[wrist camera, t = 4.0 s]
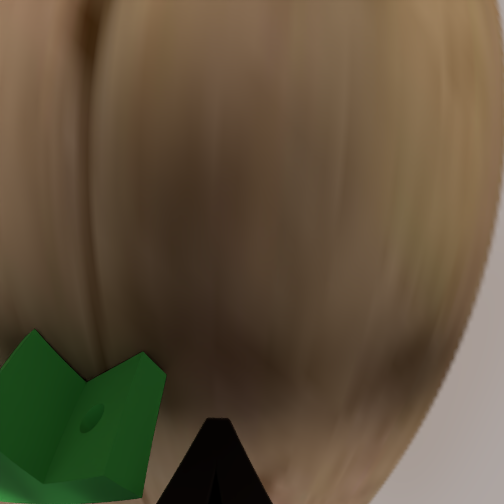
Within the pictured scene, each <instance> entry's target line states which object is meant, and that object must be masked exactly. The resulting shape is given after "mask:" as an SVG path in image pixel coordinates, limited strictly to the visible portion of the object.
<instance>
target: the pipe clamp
mask: <svg viewBox="0 0 504 504" xmlns="http://www.w3.org/2000/svg"><path fill="white" fill-rule="evenodd" d="M166 376H167V375H166V374H165V373H164V372H163V371H162V370H161V369H160V368H159V367H158V366H157V365H156V364H155V363H154V362H153V361H152V360H151V359H150V358H149V357H148V356H147V355H146V354H145V353H144V352H141V353H139V354H137V355H136V356H134V357H132V358H130V359H128V360H127V361H125V362H123V363H121V364H119V365H118V366H116V367H114V368H112V369H110V370H108V371H107V372H105V373H103V374H101V375H99V376H97V377H96V378H94V379H92V380H90V381H88V382H85V381H84V380H83V379H82V378H81V377H80V376H79V375H78V374H77V373H76V372H75V371H74V370H73V369H72V368H71V367H70V366H69V365H68V364H67V363H66V362H65V361H64V360H63V359H62V358H61V357H60V356H59V355H58V354H57V353H56V352H55V351H54V350H53V349H52V348H51V346H50V345H49V344H48V343H47V342H46V341H45V340H44V339H43V338H42V337H41V335H40V334H39V333H38V332H37V331H36V330H35V329H34V330H32V331H31V332H30V333H29V334H28V335H27V336H26V337H25V338H24V339H23V340H22V342H21V343H20V344H19V345H18V347H17V348H16V349H15V350H14V352H13V353H12V354H11V356H10V357H9V358H8V359H7V361H6V362H5V363H4V365H3V366H2V367H1V369H0V501H2V502H12V503H27V504H86V503H101V502H112V501H122V500H130V499H138V498H142V495H143V489H144V483H145V478H146V472H147V467H148V461H149V456H150V451H151V446H152V441H153V436H154V431H155V426H156V421H157V417H158V412H159V407H160V403H161V398H162V394H163V389H164V385H165V380H166Z"/></svg>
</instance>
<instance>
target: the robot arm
mask: <svg viewBox="0 0 504 504" xmlns="http://www.w3.org/2000/svg"><path fill="white" fill-rule="evenodd" d="M156 504H273V503H272V502H271V500H270V498H269V496H268V494H267V492H266V491H265V489H264V487H263V485H262V483H261V481H260V479H259V477H258V475H257V474H256V472H255V470H254V468H253V466H252V464H251V462H250V460H249V458H248V456H247V454H246V452H245V450H244V448H243V446H242V444H241V442H240V440H239V438H238V436H237V433H236V431H235V429H234V427H233V425H232V423H231V421H230V419H228V418H207V419H206V420H205V422H204V423H203V425H202V427H201V429H200V430H199V432H198V434H197V436H196V437H195V439H194V441H193V443H192V444H191V446H190V448H189V450H188V451H187V453H186V455H185V456H184V458H183V460H182V462H181V463H180V465H179V467H178V468H177V470H176V472H175V473H174V475H173V477H172V479H171V480H170V482H169V484H168V485H167V487H166V489H165V490H164V492H163V493H162V495H161V497H160V498H159V500H158V502H157V503H156Z"/></svg>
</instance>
